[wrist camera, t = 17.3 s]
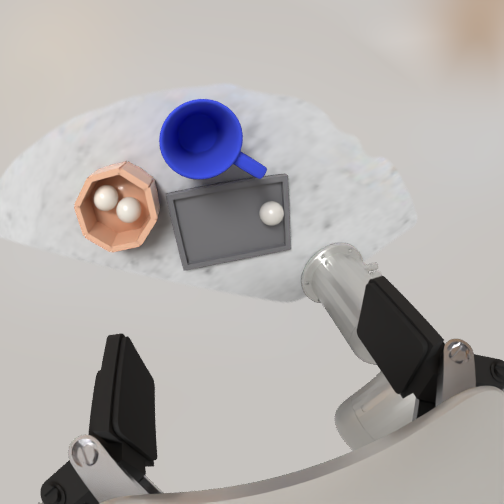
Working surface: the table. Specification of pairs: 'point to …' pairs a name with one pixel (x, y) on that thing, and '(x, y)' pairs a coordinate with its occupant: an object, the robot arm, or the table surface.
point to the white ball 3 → (271, 213)
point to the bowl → (107, 222)
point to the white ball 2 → (128, 209)
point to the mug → (204, 141)
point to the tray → (228, 220)
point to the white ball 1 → (105, 197)
